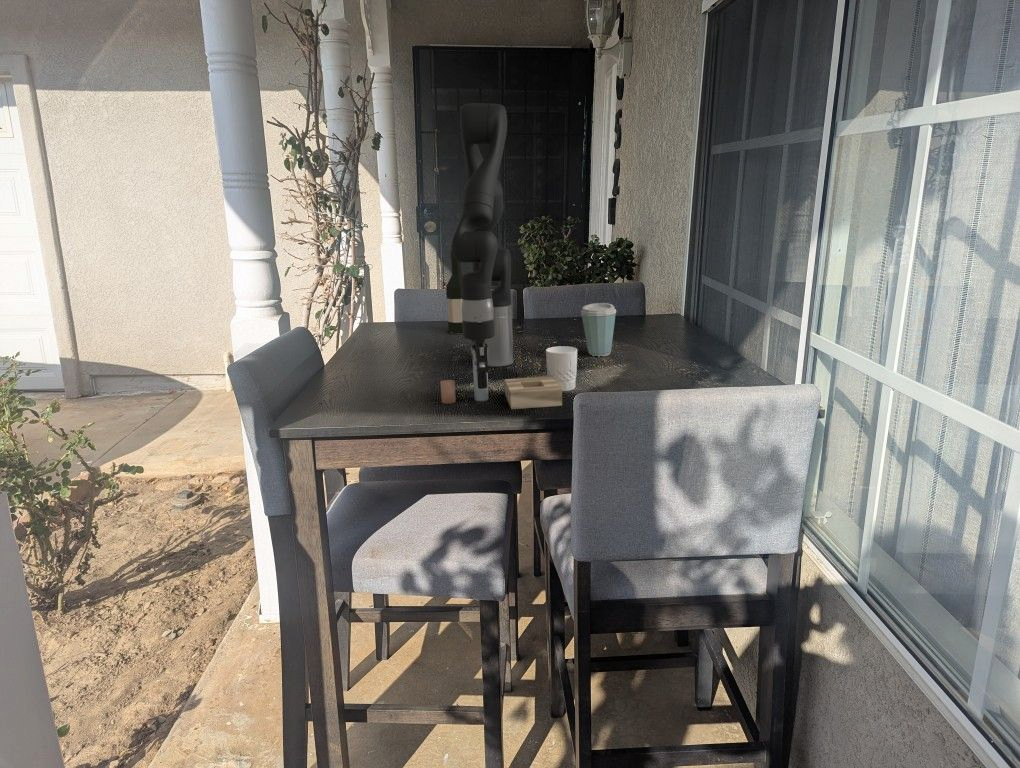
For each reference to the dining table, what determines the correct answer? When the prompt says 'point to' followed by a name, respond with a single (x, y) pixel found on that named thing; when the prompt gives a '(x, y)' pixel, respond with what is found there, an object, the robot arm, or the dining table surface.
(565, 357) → the white cup
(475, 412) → the dining table surface
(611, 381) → the dining table surface
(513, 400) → the hole block
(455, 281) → the wine bottle
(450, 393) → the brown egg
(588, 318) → the disposable coffee cup
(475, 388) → the long dowel
